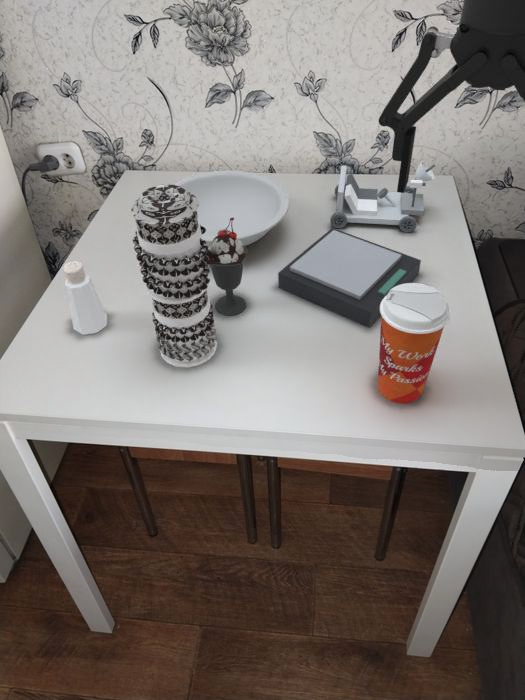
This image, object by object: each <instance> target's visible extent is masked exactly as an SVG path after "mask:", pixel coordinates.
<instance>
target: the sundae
mask: <svg viewBox="0 0 525 700" xmlns="http://www.w3.org/2000/svg"><path fill="white" fill-rule="evenodd" d="M233 220H234V217H233V218H230V221H233ZM229 225H230V222H229ZM229 225H228V227H229ZM228 227H227V228H228ZM227 228H226V229H225V230H221V231H220V232H219V233H218V236H216V237H215V238H214V239H213V241H212V243H211V244H210V246H208V250H207V251H206V252H207V253H208V255H207V256H208V257H209V260H208V261H207V262H206V263H207V265H208V266H210V270H211V273H212V276H213V280H214V282H215V285H216V286H217V287H218V288H219V289H220V290H222V291H225V295H223V296H222V297H220V298H218V299H217V301H216V302H215V305H214V308H215V310H216V312H218V313H219V314H221V315H224V316H235V315H239V314H241V313H242V312H243V311H244V310H245V309H246V308H247V302H246V300H245V298H243V297H242V296H240V295H236V294H234V290H235V289H237V288H238V287H239V286H240V285H241V282H242V277H243V268H244V262H245V260H246V258H247V256H248V254H249V249H248V247H247V246H244V245H243V244H242V243H241V241H240V240H239V239H237V238H236V237H237V234H236V233H235V232H233V228H232V222H231V228H232V232H230V231H229V233H228V231H227Z"/></svg>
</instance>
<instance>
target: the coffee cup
mask: <svg viewBox="0 0 525 700" xmlns="http://www.w3.org/2000/svg"><path fill="white" fill-rule="evenodd" d="M380 313H381V320H380V331H379V332H380V335H379V355H378V371H377V387H378V391H379V392H380V394H381V395H382V396H383V397H384V398H385V399H386V400H388V401H390V402H393V403H396V404H410V403H412V402H416V401H417V400H418V399H419V398H420V397H421V395H422V394H423V391H424V388H425V386H426V383H427V380H428V377H429V374H430V371H431V369H432V366H433V362H434V359H435V356H436V353H437V350H438V347H439V343H440V340H441V336H442V333H443V330H444V327H446V326H447V325H448V324H449V323H451V320H452V310H451V309H450V306H449V304H448V301H447V299H446V297H445V296H444V295H443V294H442V292H441V291H440V290H438V289H436V288H434V286H433V287H432V286H431V285H428V284H424V283H420V282H419V283H418V282H411V283H405V284H401V285H398V286H395V287H394V288H392V289H391V290H390V291H389V293H388V294H387V295H386V296H385V297H384V299H383V300H382V301H381V304H380Z"/></svg>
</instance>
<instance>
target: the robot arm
mask: <svg viewBox="0 0 525 700" xmlns="http://www.w3.org/2000/svg"><path fill="white" fill-rule="evenodd" d="M445 50H450V54H451V55H452V57H453V59H454V61H455V64H454V65H453V66H452V67H451V68H449V70H448V71H447V72H446V74H444V75H443V76H442V77H441V78H440V79H439V80H438V81H437V82H436V83H435V84H433V85H432V86H431V87H430V88H429V89H428V90H427V91H426V92H425V93H424V94H423V95H422V96H421V97H420V98H418V99H417V100H416V101H415V102H414V103H413V104H412V105H411V106H409V108H407V110H405V111H404V112H401V113H400V112H398V111H399V110H400V108H401V106H402V105H403V104H404V102H405V101H406V99H407V98H408V96H409V94H410V93H411V91H412V90H413V89H414V87H415V85H416V84H417V82H418V81H419V79H420V78H421V77H422V75H423V74H424V72H425V70H426V68H427V67H428V65H429V63H430V61H431V59H437V58H439V57H440V56H441V55H442V53H443V52H444V51H445ZM464 82H465V83H467V84H468V85H469V86H471V88H474V89H483V88H491V89H493V90H495V91H496V90H497V91H506V89H509V88H512V87H514V88H515V90H516V91H517V93H518V95H519V97H520V98H521V99H522V100H523V101H524V102H525V0H463V3H462V9H461V14H460V20H459V24H458V29H457V30H456V32H455V33H454V34H451V33H447V32H443V31H439V29H438V27H437V26H429V27H428V28H427V30H426V31H425V33H424V35H423V37H422V39H421V43H420V47H419V51H418V54H417V56H416V58H415V59H414V61H413V63H412V65H411V66H410V67H409V69H408V71H407V73H406V74H405V75H404V77H403V79H402V80H401V82H400V83H399V85H398V87H396V90H395V91H394V93H393V94H392V96H391V98H390V99H389V100H388V102H387V103H386V105H385V106H384V108H383V110H382V111H381V113H380V116H379V118H378V124H379V126H381V127H388V128H390V129H391V130H392V131H393V134H394V135H393V137H394V138H393V143H392V151H391V158H392V161H395V162H400V166H399V174H398V180H397V188H396V192H400V193H404V191H405V188H406V186H408V183H409V177H410V171H411V164H412V157H413V151H414V145H415V138H416V131H417V126H414V125H415V124H416V123H418V122H419V120H421V119H422V118H423V117H424V116H425V115H427V113H429V112H430V111H432V109H434V108H435V106H437V105H438V104H439V103H440V102H441V101H442V100H443V99H445V98H446V97H447V96H448V95H449V94H450V93H452V92H454V91H455V90H456V89H457V88H459V87H460V86H461V85H462V84H463V83H464ZM523 211H524V212H525V207H524V210H523Z"/></svg>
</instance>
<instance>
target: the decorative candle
mask: <svg viewBox="0 0 525 700" xmlns="http://www.w3.org/2000/svg"><path fill="white" fill-rule="evenodd" d="M198 206H199V202H198V199H197V197H195V196H194V195H193V194H191V193H190V192H187V191H186V190H185V189H183V188H182V187H180V186H176V185H172V184H168V183H165V184H158V185H154V186H151V187H148V188H147V189H145V191H143V192H142V193H141V194H140V196H139V198H138V199H136V200H135V201H134V202H133V204H132V206H131V208H130V210H131V211H130V212H131V216H132V217H134V219H135V224H136V229H135V233H134V234H135V236H134V237H133V238H132V243H133V244H134V246H133V248H134V252H135V253H137V254H136V260H137V262H138V264H139V267H140V274H141V275H143V276H142V282H143V283H144V284H145V288H146V292H147V295H148V296H150V298H151V299H152V302H151V305H152V310H153V311H152V313H151V316H152V322H153V324H154V325H155V326H154V331H155V335H156V341H157V342H158V344H157V345H158V349H159V352H160V355H161V358H162V359H163V360H164V362H166V364H168V365H171V366H174V367H177V368H192V367H198V366H200V365H203V364H204V363H206V362H208V361H209V360H210V359H211V358H213V356H214V355H215V354H216V350H217V348H218V342H217V339H218V338H217V336H216V333H217V330H216V328H214V327H215V326H216V324H215V319H214V310H213V305H212V303H211V301H210V296H209V293H208V287H209V284H210V281H211V279H210V278H209V273H210V272H211V271H210V270H211V269H210V267H209V264H208V265H207V263H206V262H207V261H208V260H209V257H208V256H207V255H208V253H207V252H206V251H207V250H208V246H207V245H206V241H205V240H203V239H201V238H200V237H201V234H204V233H205V232H206V229H205V227H203V226H201V225H200V224H199V221H198V216H197V208H198ZM200 245H201V246H202V248H201V247H200Z"/></svg>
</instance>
